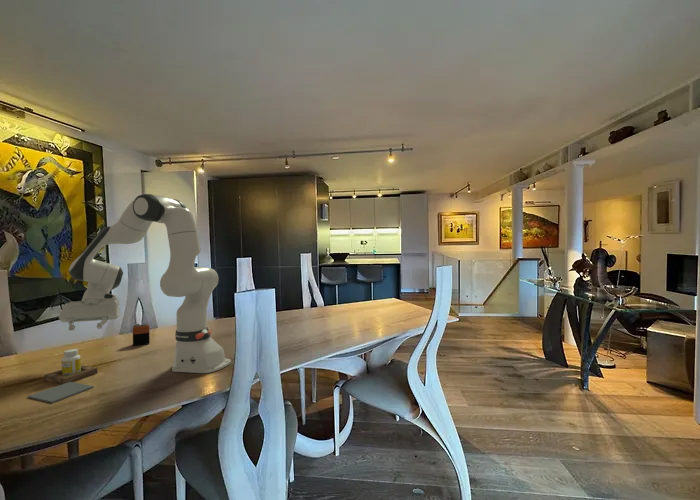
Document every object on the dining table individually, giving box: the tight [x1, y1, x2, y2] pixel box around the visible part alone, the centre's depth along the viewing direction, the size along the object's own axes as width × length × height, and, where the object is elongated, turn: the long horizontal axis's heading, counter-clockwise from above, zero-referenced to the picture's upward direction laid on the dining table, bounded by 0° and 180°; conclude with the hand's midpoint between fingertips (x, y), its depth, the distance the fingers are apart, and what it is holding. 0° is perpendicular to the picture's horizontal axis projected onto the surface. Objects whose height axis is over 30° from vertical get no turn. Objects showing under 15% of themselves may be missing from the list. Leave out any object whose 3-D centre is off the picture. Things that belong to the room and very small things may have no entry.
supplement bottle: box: [61, 348, 82, 376], centre depth 124 cm, size 5×5×10 cm
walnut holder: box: [43, 364, 99, 385], centre depth 124 cm, size 11×11×2 cm
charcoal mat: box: [27, 381, 94, 404], centre depth 111 cm, size 12×12×1 cm
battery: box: [132, 322, 151, 347], centre depth 166 cm, size 4×7×10 cm, turn 119°
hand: (85, 328), depth 136 cm, fingers open, 8 cm apart
